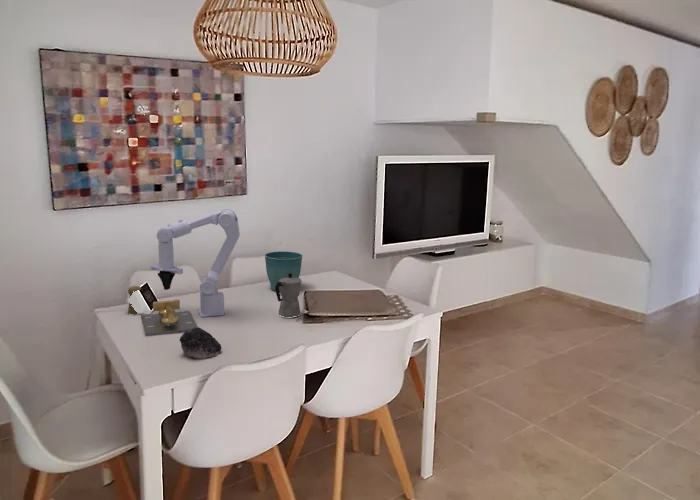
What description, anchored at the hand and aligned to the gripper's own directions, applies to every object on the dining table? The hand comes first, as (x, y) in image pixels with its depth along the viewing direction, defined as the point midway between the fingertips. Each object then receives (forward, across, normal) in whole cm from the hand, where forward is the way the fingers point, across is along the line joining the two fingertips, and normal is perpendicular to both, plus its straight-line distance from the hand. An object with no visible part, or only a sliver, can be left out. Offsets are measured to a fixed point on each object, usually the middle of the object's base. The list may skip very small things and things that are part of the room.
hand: (167, 289), depth 232 cm
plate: (+10, +8, -10) cm, 17 cm away
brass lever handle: (+8, +11, -13) cm, 19 cm away
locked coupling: (+8, +3, -5) cm, 10 cm away
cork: (+11, -12, -5) cm, 17 cm away
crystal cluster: (+11, +36, -28) cm, 47 cm away
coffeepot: (+11, +44, +20) cm, 50 cm away
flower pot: (+11, +24, +55) cm, 61 cm away
